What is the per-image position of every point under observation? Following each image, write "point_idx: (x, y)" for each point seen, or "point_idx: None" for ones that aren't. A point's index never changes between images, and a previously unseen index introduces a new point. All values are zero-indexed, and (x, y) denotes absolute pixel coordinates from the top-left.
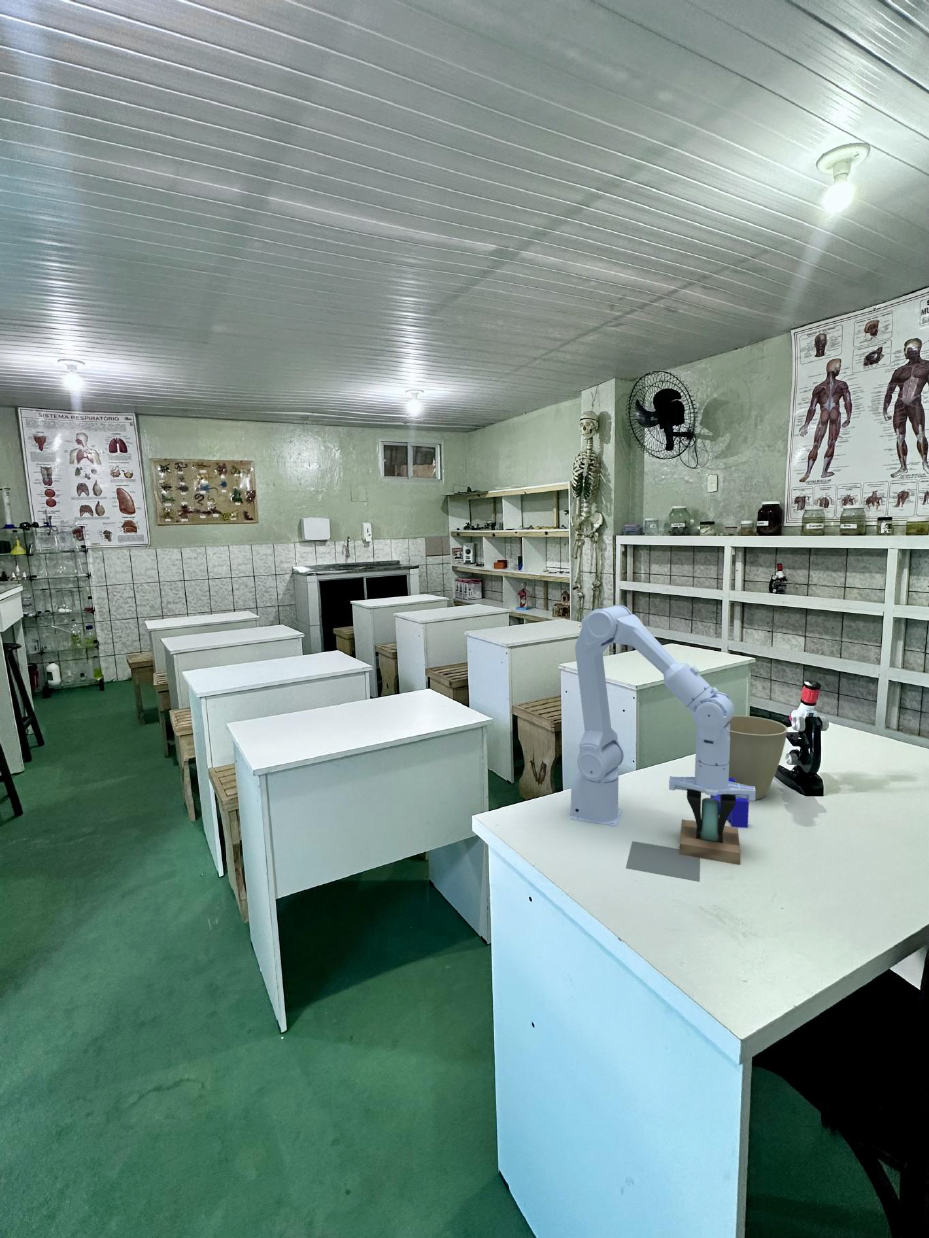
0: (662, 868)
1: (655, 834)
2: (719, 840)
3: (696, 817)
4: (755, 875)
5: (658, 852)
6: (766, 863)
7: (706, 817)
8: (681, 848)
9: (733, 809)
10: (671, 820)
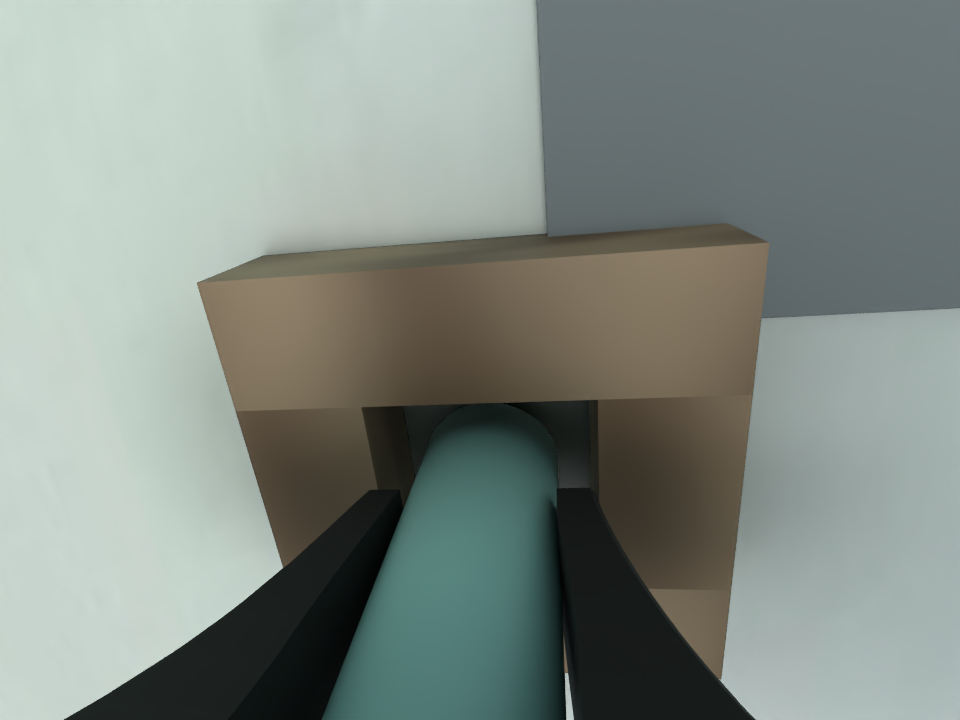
0: None
1: (902, 502)
2: None
3: (628, 591)
4: (144, 171)
5: (939, 170)
6: (135, 372)
7: (492, 608)
8: (729, 234)
9: None
10: (757, 700)
